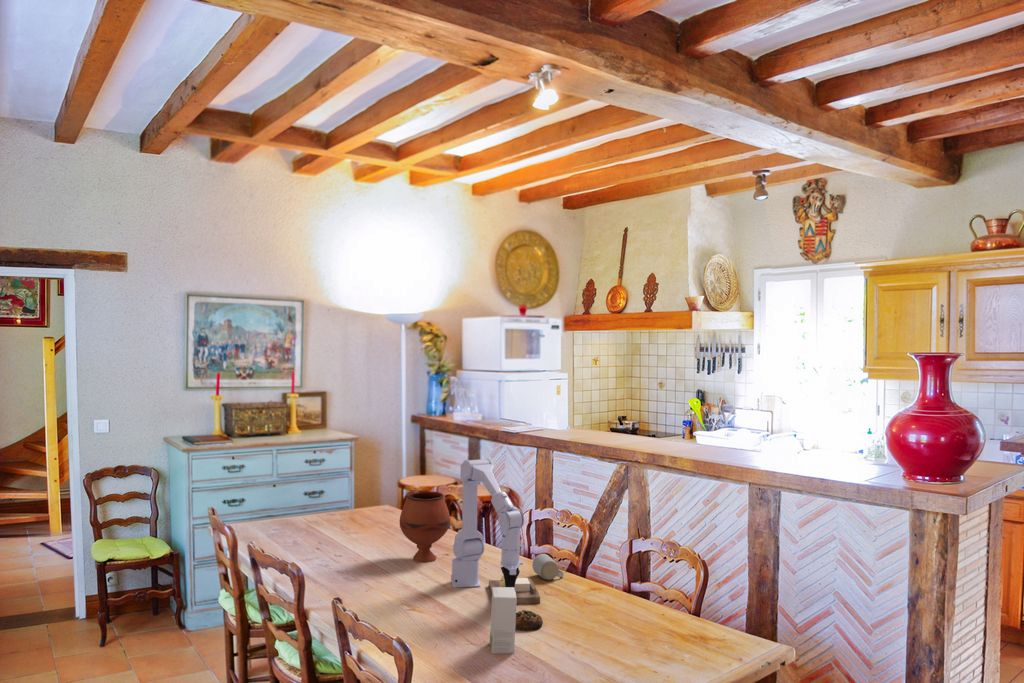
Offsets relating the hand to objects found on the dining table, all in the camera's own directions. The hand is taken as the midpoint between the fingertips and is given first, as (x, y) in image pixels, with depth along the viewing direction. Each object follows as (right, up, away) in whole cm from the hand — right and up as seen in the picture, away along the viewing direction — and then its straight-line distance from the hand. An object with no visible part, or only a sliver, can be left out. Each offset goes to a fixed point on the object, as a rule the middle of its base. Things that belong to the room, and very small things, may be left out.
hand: (509, 590), depth 242 cm
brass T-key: (-2, -2, +3) cm, 4 cm away
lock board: (+1, -5, +11) cm, 12 cm away
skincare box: (-2, -5, -33) cm, 34 cm away
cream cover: (+3, -3, +12) cm, 12 cm away
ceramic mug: (+14, -6, +31) cm, 35 cm away
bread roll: (+5, -6, -15) cm, 17 cm away
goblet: (-33, -4, +50) cm, 60 cm away
